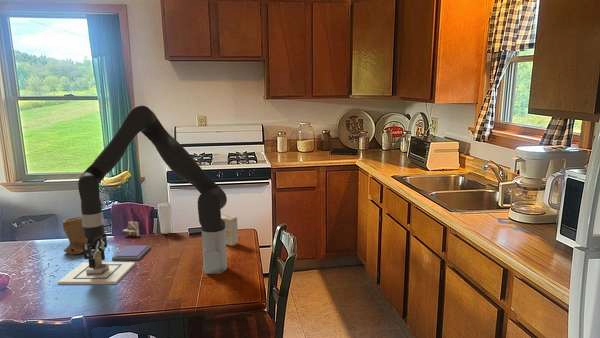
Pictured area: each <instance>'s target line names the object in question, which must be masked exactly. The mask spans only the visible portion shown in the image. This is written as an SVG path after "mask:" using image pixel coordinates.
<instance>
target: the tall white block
mask: <svg viewBox="0 0 600 338" xmlns="http://www.w3.org/2000/svg"><path fill="white" fill-rule="evenodd" d="M172 210H173V206H172V203H171V202H168V201H167V202H161V203H158V204H157V215H158V220H159V227H160V233H161V234H165V235H167V234H170V233H172V231H173V227H172V224H173V221H172V220H173V219H172V217H173V211H172Z"/></svg>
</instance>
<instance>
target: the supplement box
mask: <svg viewBox="0 0 600 338" xmlns="http://www.w3.org/2000/svg"><path fill="white" fill-rule="evenodd" d="M221 219H222V220H224V222H225V234H226V246H228V247H234V246H236V245H238V244H239V235H238V234H239V229H238V216H232V215H228V214H227V215H226V214H223V215H221Z"/></svg>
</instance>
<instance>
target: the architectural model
mask: <svg viewBox="0 0 600 338" xmlns="http://www.w3.org/2000/svg"><path fill="white" fill-rule="evenodd" d="M127 222H128V223H127V224H128V226H127V227H126V228H124V229H123V230H122V232H128V235H129V236H133V237H135V236H136V238H137V237H140V229H139V221H127Z"/></svg>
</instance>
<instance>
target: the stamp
mask: <svg viewBox="0 0 600 338" xmlns="http://www.w3.org/2000/svg"><path fill="white" fill-rule="evenodd" d="M92 255H93V253H92ZM102 261H103V260H102V259H101V251H98V250H97V253H95V264H96V267H95V268H90V267H89V268H88V269H87V270H86V274H87V275H102V274H103V273H104V272H105V271H106V270H108V269H109V264H102Z"/></svg>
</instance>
